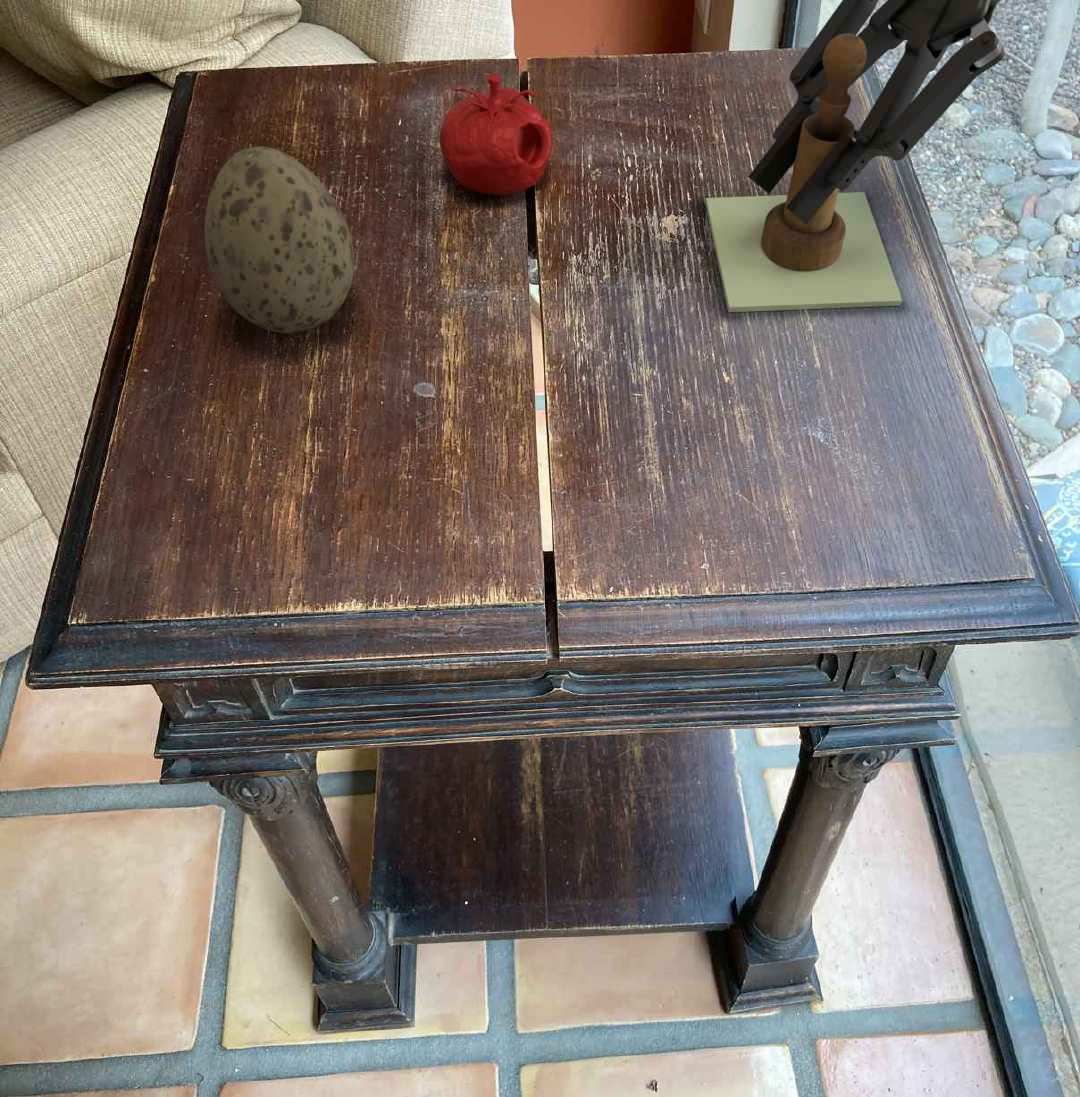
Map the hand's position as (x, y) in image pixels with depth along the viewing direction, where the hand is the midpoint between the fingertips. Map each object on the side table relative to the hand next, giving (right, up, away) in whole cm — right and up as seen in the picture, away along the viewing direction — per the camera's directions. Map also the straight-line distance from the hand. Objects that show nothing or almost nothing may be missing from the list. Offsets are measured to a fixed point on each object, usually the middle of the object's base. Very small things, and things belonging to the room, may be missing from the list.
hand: (777, 200), depth 82 cm
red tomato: (-22, +7, +13) cm, 27 cm away
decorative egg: (-38, -9, +3) cm, 39 cm away
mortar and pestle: (+3, -2, +6) cm, 7 cm away
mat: (+3, -2, +7) cm, 8 cm away
